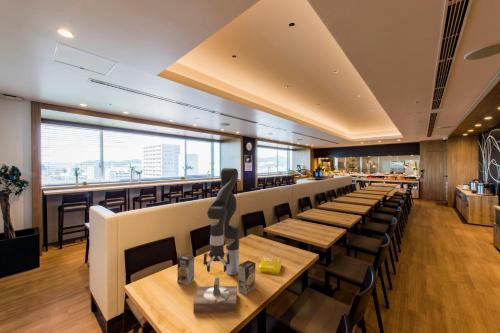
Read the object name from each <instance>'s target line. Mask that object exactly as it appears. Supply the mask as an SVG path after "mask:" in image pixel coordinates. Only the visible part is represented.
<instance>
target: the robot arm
mask: <svg viewBox="0 0 500 333" xmlns="http://www.w3.org/2000/svg"><path fill="white" fill-rule="evenodd" d="M238 179H239V170H238V169H237V168H234V167H233V168H232V167H228V168H227V167H223V168H222V169H221V170H220V181H221V188H220V189H219V190H218V192H217V194H216V197H215V199H214V201H213V202H212V203H211V204H210V206H209V207H208V209H207V211H206V212H207V213H206V214H207V217H208V219H211V220H218V222H213V223H212V224H211V225H210V238H209V252H207V251H205V252H204V254H203V265H206V271H207V273H211V263H212V262H214V263H215V262H221V263H222V264H223V273H225V274H227V275H228V276H235V275H239V265H240V233H241V232H240V229H241V228H240V226H239V225H231V224H230V222H231V219H232V217H233V216H234V214H235V213H236V211H237V208H238V207H237V206H238V205H237V199H236V197H235V194H233V192H232V191H233V189H234V187H235V185H236V183H237V181H238ZM224 239H228V240H229V239H230V240H232V241H229V242H227V243H226V245H225V246H224V244H225V240H224ZM224 248H225V249H224ZM224 251H225V252H224ZM208 257H209V260H208V261H207V258H208ZM224 257H225V258H224Z"/></svg>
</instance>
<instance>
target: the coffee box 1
mask: <svg viewBox="0 0 500 333" xmlns="http://www.w3.org/2000/svg"><path fill="white" fill-rule="evenodd" d="M194 281H195V256H194V255H189V254H184V253H183V254H182V255H179V256H178V257H177V283H180V284H183V285H190V284H192V283H193V282H194Z"/></svg>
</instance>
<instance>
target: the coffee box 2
mask: <svg viewBox="0 0 500 333" xmlns="http://www.w3.org/2000/svg"><path fill="white" fill-rule="evenodd" d="M237 279H238V285H237V292H239V293H241V294H243V295H245V296H246V295H248V294H249V293H250V292H252V291H253V290H255V289H256V262H254V261H251V260H248V259H247V261H243V262H241V263H239V273H238V278H237Z"/></svg>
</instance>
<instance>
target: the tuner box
mask: <svg viewBox="0 0 500 333" xmlns="http://www.w3.org/2000/svg"><path fill="white" fill-rule="evenodd" d="M219 289H220V294H219V295H217V297H216V301H214V298H215V295H213V290H214V285H213V286H211V285H210V286H209V285H207V286H206V285H205V286H203V285H201V286H199V288H198V290H197V293H196V296H195V299H194V300H193V304H192V305H193V306H192V308H193V310H192V312H193V314H219V313H221V314H222V313H223V314H224V313H225V314H227V313H229V314H230V313H231V314H232V313H237V297H238V285H227V286H226V285H219Z"/></svg>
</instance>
